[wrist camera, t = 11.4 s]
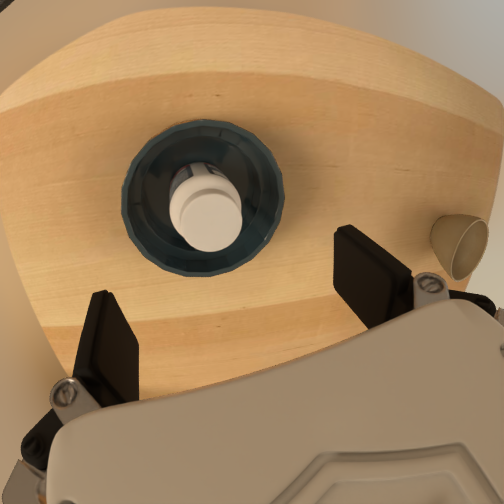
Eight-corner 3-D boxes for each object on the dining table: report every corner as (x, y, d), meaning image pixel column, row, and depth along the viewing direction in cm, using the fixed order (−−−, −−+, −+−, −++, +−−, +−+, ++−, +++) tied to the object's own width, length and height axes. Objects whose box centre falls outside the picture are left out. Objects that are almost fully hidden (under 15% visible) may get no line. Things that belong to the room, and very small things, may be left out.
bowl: (115, 140, 22) (101, 146, 18) (255, 108, 24) (273, 107, 20) (152, 265, 28) (150, 292, 24) (273, 233, 30) (290, 255, 26)
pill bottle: (173, 220, 26) (175, 267, 19) (166, 165, 24) (162, 190, 16) (228, 212, 27) (253, 254, 20) (225, 158, 25) (250, 179, 17)
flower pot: (446, 188, 34) (481, 205, 28) (462, 224, 39) (492, 242, 33) (410, 239, 36) (444, 263, 30) (431, 269, 41) (459, 291, 35)
